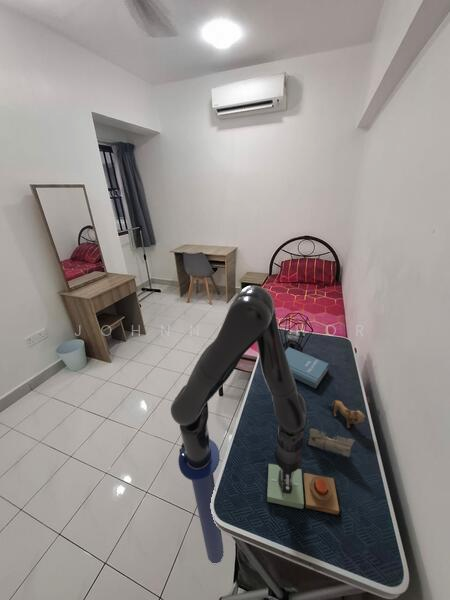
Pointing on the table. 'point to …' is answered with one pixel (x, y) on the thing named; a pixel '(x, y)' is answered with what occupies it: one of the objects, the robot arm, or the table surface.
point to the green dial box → (276, 491)
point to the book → (306, 367)
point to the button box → (317, 500)
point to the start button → (321, 486)
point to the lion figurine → (348, 413)
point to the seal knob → (280, 479)
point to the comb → (330, 442)
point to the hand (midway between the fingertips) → (285, 482)
